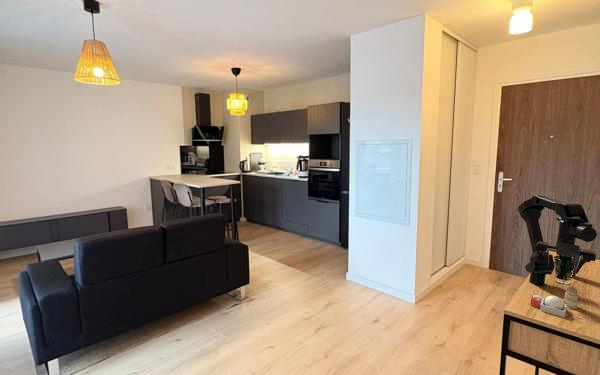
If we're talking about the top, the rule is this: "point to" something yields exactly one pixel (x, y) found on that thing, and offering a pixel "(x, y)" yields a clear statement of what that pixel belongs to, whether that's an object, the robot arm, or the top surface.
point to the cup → (576, 258)
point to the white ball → (554, 302)
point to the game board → (552, 310)
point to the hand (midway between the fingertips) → (561, 270)
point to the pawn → (571, 297)
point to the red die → (535, 301)
